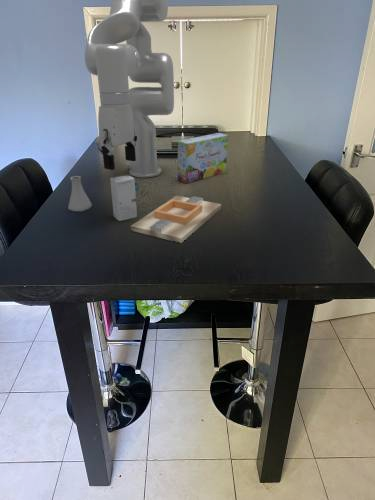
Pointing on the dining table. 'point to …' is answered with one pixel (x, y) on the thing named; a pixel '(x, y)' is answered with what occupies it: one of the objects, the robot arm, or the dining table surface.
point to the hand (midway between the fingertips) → (120, 164)
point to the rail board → (176, 218)
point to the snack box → (202, 157)
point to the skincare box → (123, 197)
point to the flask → (78, 196)
